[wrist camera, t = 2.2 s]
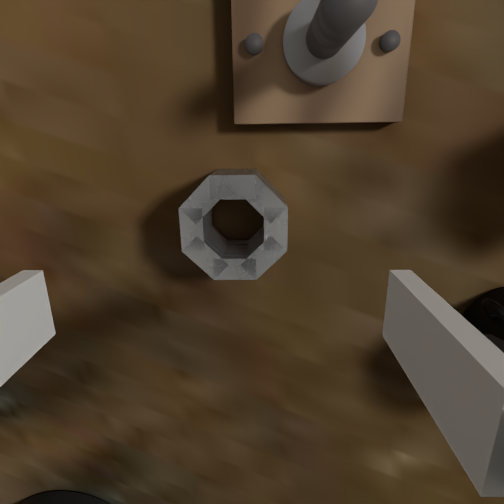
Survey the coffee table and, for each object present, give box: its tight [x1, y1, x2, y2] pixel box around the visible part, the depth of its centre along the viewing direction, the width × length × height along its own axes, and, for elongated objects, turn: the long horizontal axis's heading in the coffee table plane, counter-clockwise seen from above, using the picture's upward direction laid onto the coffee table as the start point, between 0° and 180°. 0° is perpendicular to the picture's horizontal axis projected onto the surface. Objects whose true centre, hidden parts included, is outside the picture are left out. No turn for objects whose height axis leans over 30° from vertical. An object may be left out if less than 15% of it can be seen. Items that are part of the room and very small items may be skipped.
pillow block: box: [231, 0, 415, 125], centre depth 21 cm, size 12×10×10 cm
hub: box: [179, 169, 288, 280], centre depth 27 cm, size 7×7×5 cm
